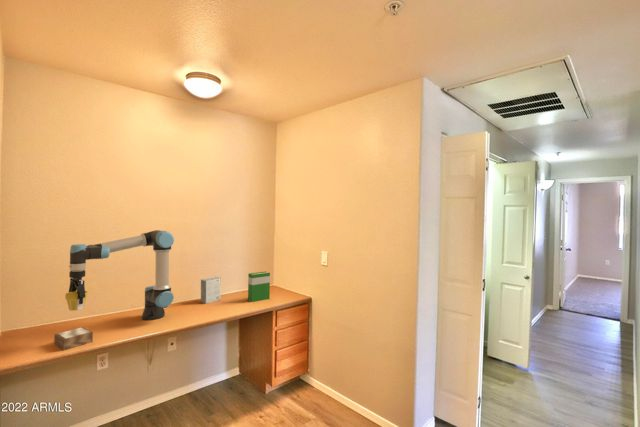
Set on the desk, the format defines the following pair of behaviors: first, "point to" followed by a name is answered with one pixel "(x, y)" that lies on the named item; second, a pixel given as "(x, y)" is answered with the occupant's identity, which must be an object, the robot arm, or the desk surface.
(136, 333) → the desk surface
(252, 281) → the hardback book
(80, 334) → the pedestal block
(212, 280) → the hard drive box
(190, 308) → the desk surface
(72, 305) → the plant pot
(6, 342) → the desk surface
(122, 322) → the desk surface
